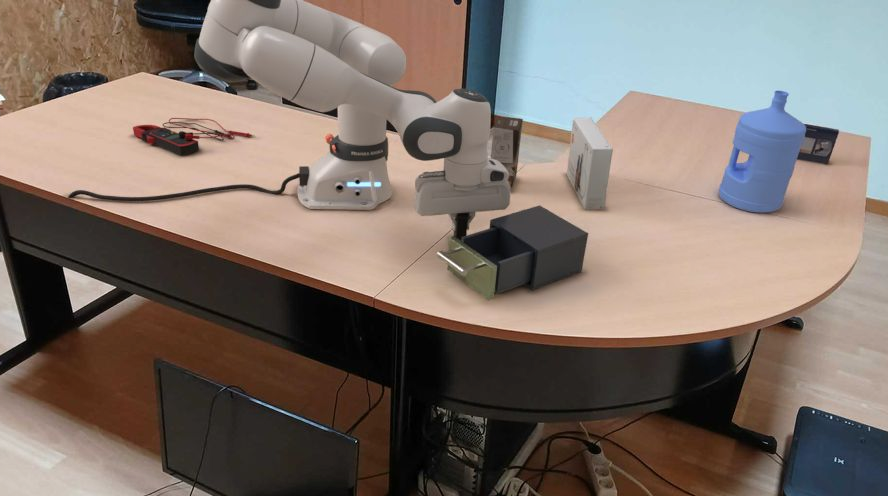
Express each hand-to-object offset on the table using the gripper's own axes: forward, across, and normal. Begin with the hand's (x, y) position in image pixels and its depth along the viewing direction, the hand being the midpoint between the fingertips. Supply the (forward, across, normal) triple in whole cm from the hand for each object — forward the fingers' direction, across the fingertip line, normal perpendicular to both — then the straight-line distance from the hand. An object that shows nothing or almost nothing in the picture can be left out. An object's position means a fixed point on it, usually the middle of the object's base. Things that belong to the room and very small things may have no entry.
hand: (460, 229), depth 157 cm
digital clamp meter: (+4, -55, +70) cm, 89 cm away
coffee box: (+4, +20, +28) cm, 35 cm away
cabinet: (+3, +12, -12) cm, 18 cm away
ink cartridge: (+4, 0, 0) cm, 4 cm away
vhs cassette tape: (+3, +113, +32) cm, 117 cm away
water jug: (+3, +80, +8) cm, 80 cm away
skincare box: (+4, +39, +20) cm, 44 cm away
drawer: (+2, 0, -17) cm, 17 cm away
